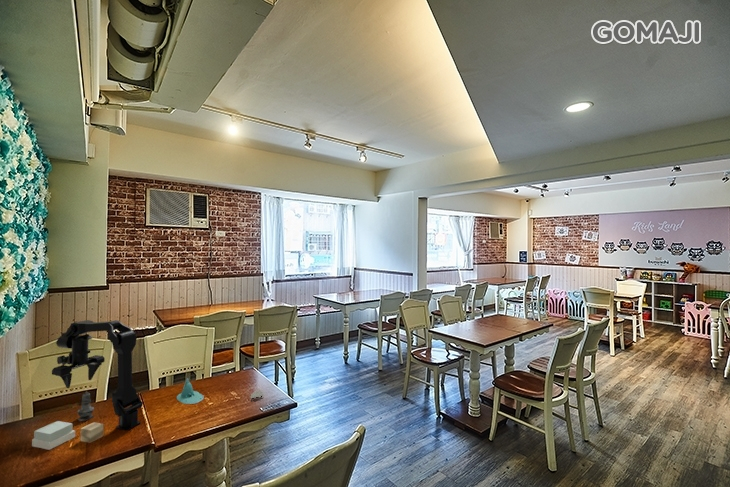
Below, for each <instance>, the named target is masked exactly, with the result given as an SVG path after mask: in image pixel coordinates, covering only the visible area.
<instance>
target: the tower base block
mask: <svg viewBox="0 0 730 487" xmlns="http://www.w3.org/2000/svg"><path fill="white" fill-rule="evenodd" d="M74 438H76V430H74V429H73V430H72V432H70V433H68V434H66V435H63V436H61V437H59V438H57V439H55V440H53V441H51V442H47V441H42V440H37V439H34V438H32V440H31V447H33V448H40V449H43V450H48V451H50V450H52V449H54V448H56V447H58V446H60V445H62V444H64V443H66V442H68V441H70V440H73V439H74Z"/></svg>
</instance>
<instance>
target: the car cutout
mask: <svg viewBox="0 0 730 487" xmlns="http://www.w3.org/2000/svg"><path fill="white" fill-rule="evenodd" d="M263 395H264V391H263V390H261V389H255V390H254V392H252V393H251V394H250V399H252V398H255V399H257V398H256V397H259V396H262V397H263V398H264V396H263ZM262 397H261V398H262ZM259 398H260V397H259Z"/></svg>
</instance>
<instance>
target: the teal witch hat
mask: <svg viewBox="0 0 730 487" xmlns="http://www.w3.org/2000/svg"><path fill="white" fill-rule="evenodd" d="M176 399H177V401H179V402H180V403H182V404H185V405H186V404H187V405H190V404H191V405H192V404H193V405H194V404H198V403H199V402H201V401H203V400H204V394H202V393H200V392H198V391H197V390H194V389H193V385H192V383H191V382H190V380H189V378H186V380H185V382H184V385H183V388H182V391H181V393H179V394H178V395H177V396H176Z"/></svg>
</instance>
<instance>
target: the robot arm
mask: <svg viewBox="0 0 730 487" xmlns="http://www.w3.org/2000/svg"><path fill="white" fill-rule="evenodd" d="M115 330H116V331H117V332H119V333H115V332H114V331H115ZM91 332H92V333H93V332H106V333H107V338H108V340H109V341H110V342H111V344H112V348H113V350H114V352H116V353H117V389H116V390H115V391H113V392H112V394H111V398H112V399H111V403H112V406H113V411H114V415H115V416H117V417H118V425H116V426H115V429H119V430H125V431H129V430H131V429H133V428H134V427H136V426H137V425H139V424H141V423H142V422H141V421H140V420H138V419H139V418H138V417H139V416H138V415H139V413H138V412H139V409H141V408H143V404H144V403H143V401H142V399H141V398H140V397H139V396H138V392H137V389H136V388H135V386H134V385H133V359H132V358H133V350H134V349H135V347H136V345H137V333H135V331H134V330H133V328H131V327H129V326H127V325H125V324H123V323H122V322H121V321H120V320H117V319H116V320H107V321H96V322H95V321H93V320H91V319H90V320H89V319H86V320H80V321H76V322H75V321H74V322H71V323H70V325H69V327H68V328H67V330H66V331H65V332H61V336H59V337H58V338H57V340H56V341H55V342H56V344H55V345H56V346H57V347H58V348H64V349H71V351H70V352H69V353H68V355H67V356H65V355H61V356H58V357H57V358H56V362H57V364H58V366H56V367H53V368H52V370H51V375H52V376H57V377H60V378H61V379H62V381H63V383H64V386H65V387H66V389H70V388H71V383H72V382H71V381H72V376H73V373H72V370H75V369H78V368H81V367H83V366H86V367H87V368H88V370H87V371H88V373H87V374H88V375H87V377H88V378H87V379H88V381H92V379H93V377H94V375H95V374H96V372H97V370H98V369H99V367H100V366H101V365H102V363H104V362H105V356H103V355H100V354H99V355H97V354H96V355H95V354H94V355H91V356H90V357H89V354H90V353H91V350H89V340H92V339H93V336H91V335H90V334H88V333H91ZM60 364H61V365H60Z"/></svg>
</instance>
